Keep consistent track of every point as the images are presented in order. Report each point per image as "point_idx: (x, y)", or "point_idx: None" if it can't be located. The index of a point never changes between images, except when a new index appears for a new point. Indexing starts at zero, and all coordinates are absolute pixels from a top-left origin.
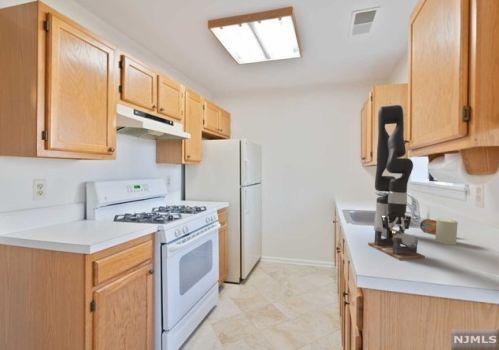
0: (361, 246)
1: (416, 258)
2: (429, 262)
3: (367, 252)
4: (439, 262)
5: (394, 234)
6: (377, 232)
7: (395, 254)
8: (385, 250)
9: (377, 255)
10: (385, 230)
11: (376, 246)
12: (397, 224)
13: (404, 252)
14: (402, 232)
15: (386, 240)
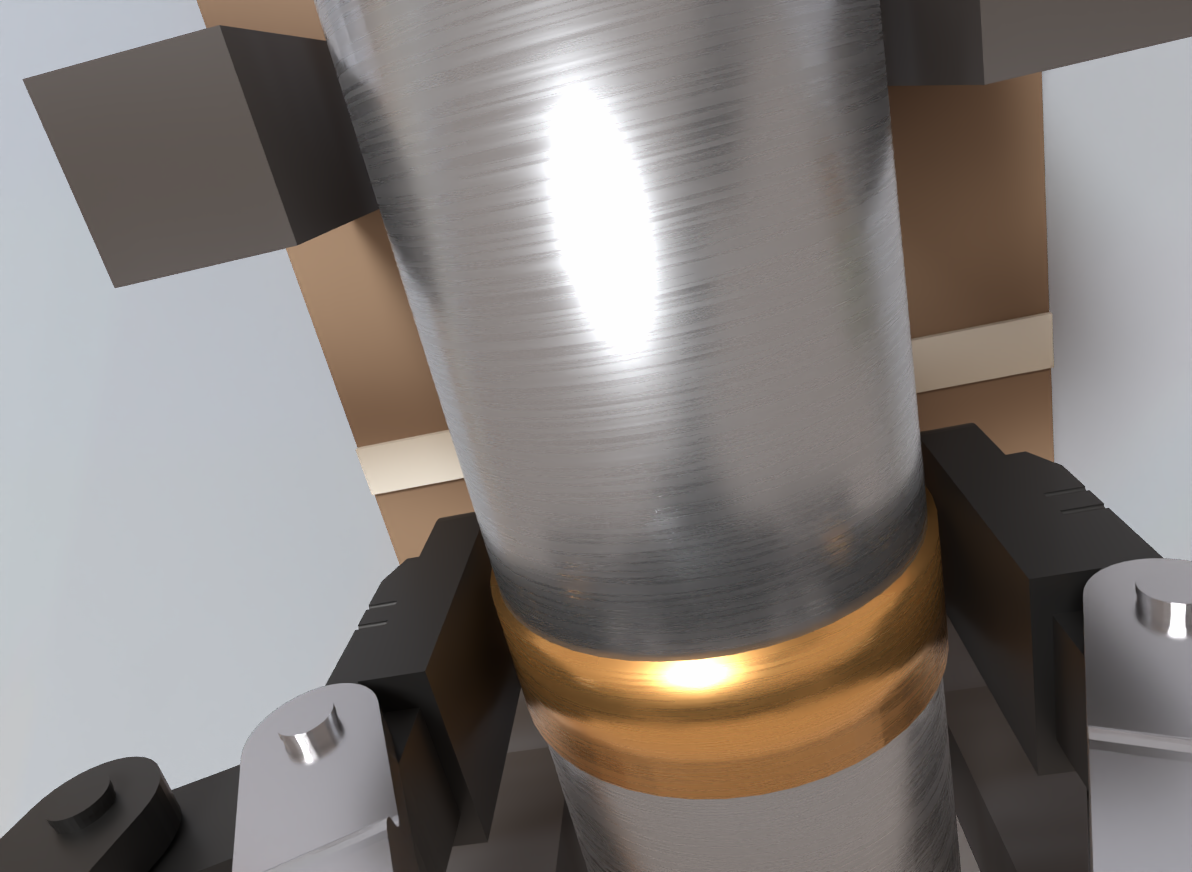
0: (2, 81)
1: None
2: (972, 864)
3: (72, 495)
4: None
5: (568, 798)
6: (129, 254)
7: None
8: (409, 538)
9: (223, 632)
10: (430, 335)
11: (302, 270)
12: (1092, 743)
13: None
14: (1008, 720)
15: None
